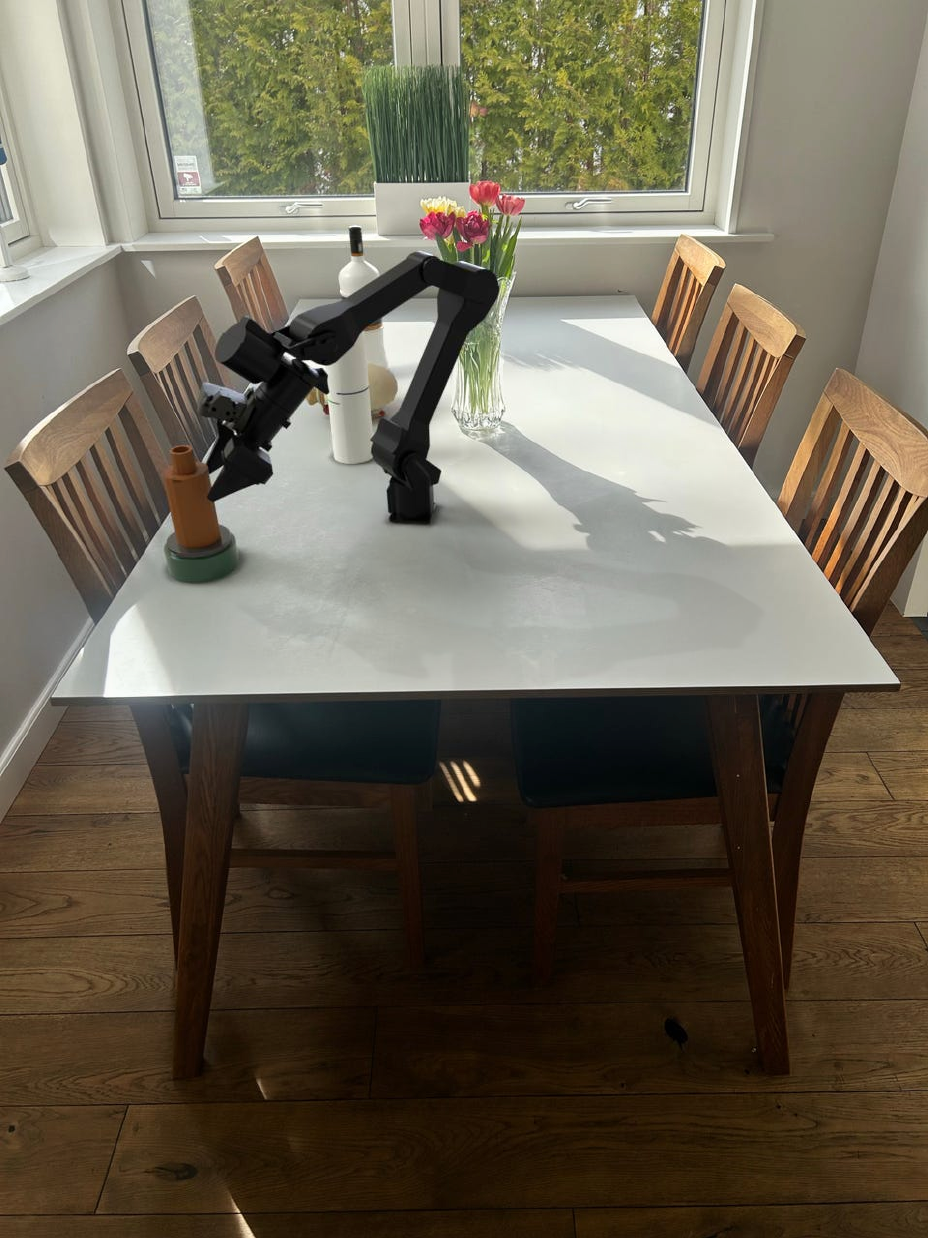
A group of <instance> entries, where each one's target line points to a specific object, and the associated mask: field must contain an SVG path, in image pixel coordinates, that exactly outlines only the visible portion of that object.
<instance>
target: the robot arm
mask: <svg viewBox="0 0 928 1238" xmlns="http://www.w3.org/2000/svg"><path fill="white" fill-rule="evenodd" d="M498 281H499V280H498V278H497V275H496V274H495V273H494V272H493V270H490V269H488V268H485V267H481V266H478V265H477V264H473V263H469V262H465V261H463V260H459V261H455V262H453V263H450V262H448V261H445V260H442V259H440V257H439V256H436V255H435V254H431V253H428V252H425V251H422V250H416V251H413V252H411V253H408V255H407V256H406V258H405V259H404V260H402V261H400V262H399V263H397V264H396V265H394V266H393V267H392V268H390V269H388V270H387V271H385V272H384V273H382V274H381V275H380V276H379V277H378V278H376V279H374V280H373V281H371V282H370V283H368V284H367V285H365V286H364V287H362V288H361V289H359V290H357V291H356V292H354V293H353V294H351V295H350V296H348V297H347V298H345V299H343V300H342V299H341V300H339V301H336V302H330V303H327V304H322V305H318V306H316V307H313V308H311V309H308V310H306V311H304V312H301V313H299V314H297V315H296V316H294V318H293V319H292V320H291V321H290V323H289V324H287V325H284V326H282V327H279V328H277V329H275V330H272V331H270V332H268V331H267V330H266V329H264V328H262V326H261V325H260V324H259V323H258V322H257V321H255V320H254V319H253V318H251V317H250V316H247V315H242V317H241V319H240V321H239V322H236V323H234V324H233V325H231V326H230V327H229V328H228V329H227V330H226V331H225V332H222V334H221V335H220V337H219V338H218V340H217V343H216V345H215V349H214V357H215V360H216V361H217V362H218V363H219V364H221V365H223V366H224V367H225V368H227V369H228V370H230V371H232V372H234V374H236V375H237V376H239V377H241V378H243V379H244V380H246V381H247V382H249V383H250V384H252V385H258V386H257V387H254V386H252V387H249V388H248V389H246V391H245V392H244V393H241V392H238V391H237V390H234V389H231V388H229V387H228V388H227V387H225V386H221V385H217V384H214V383H212V382H206V381H205V382H202V384H201V387H200V391H199V394H198V398H197V400H196V401H197V402H196V407H197V413H198V415H200V416H201V417H204V418H208V419H209V418H212V419H215V422H216V428H217V435H216V438H215V441H214V443H213V445H212V447H211V450H210V452H209V454H208V457H207V458H206V461H205V462H204V463H205V464H206V465H207V466H208V471H209V475H211V474H213V473H214V472H216V471H218V470H219V469H220V468H221V470H220V472H218V475H217V476H216V478H215V480H214V482H213V484H212V485H211V486H212V487H211V489H210V491H209V493H208V495H207V499H208V500H210V501H211V502H218V501H220V500H221V499H224V498H226V497H229V496H231V495H232V494H235V493H237V492H239V491H242V490H244V489H247V488H249V487H252V486H255V485H256V486H259V485H266V484H267V482H269V480H270V479H271V477H272V476H273V475H274V471H273V464H272V460H271V457H270V454H268V453H269V452H270V451H271V450H272V448H273V446H274V445H273V443H272V441H273V439H274V438H275V437H276V436H277V434H278V433H280V431H281V430H282V429H283V428H284V429H285V430H288V428H289V427H290V426H291V425H292V421H291V417H292V416H293V415H294V413H295V412H296V411H297V409H298V408H299V407H300V406H301V405H302V403H304V401H305V400H306V397H307V396H308V395H309V393H310V392H311V391H312V390H313V389H314V388H317V389H318V390H320V391H321V392H322V393H324V394H326V395H327V394H329V387H328V374H327V373H326V371H325V368H324V366H329V365H332V364H334V363H336V362H337V361H338V360H339V359H340V358H341V357H343V356H344V355H345V354H346V353H347V352H348V351H349V350H350V349H351V348H352V347H353V346H354V344H355V342H356V341H357V339H358V337H359V335H360V334H361V333H362V332H363V331H364V330H365V329H366V328H367V327H369V326H370V325H372V324H373V323H375V322H376V321H378V320H379V319H381V318H382V319H383V318H384V317H385V316H387V315H389V314H391V312H393V311H395V310H396V309H397V308H399V307H401V306H402V305H404V304H406V303H407V302H408V301H410V300H411V299H412V298H414V297H415V296H417V295H418V294H420V293H422V292H423V291H425V290H427V288H430V287H435V288H437V289H438V291H437V295H436V309H437V311H436V312H437V319H436V322H435V324H434V327H433V329H432V331H431V334H430V336H429V338H428V340H427V344H426V345H425V348H424V350H423V353H422V355H421V357H420V360H419V363H418V365H417V367H416V370H415V372H414V375H413V377H412V379H411V381H410V383H409V386H408V388H407V391H406V393H405V396H404V398H403V401H402V403H401V406H400V407H399V409H398V411H397V412H396V413H395V414H393V415H392V416H391V417H390V418H387V417H386V416H384V417H383V416H382V417H381V416H380V418H379V420H378V422H377V423H378V424H377V428H376V429H375V431H374V434H373V437H372V438H371V439H370V441H372V442H373V444H372V447H371V454H372V456H373V458H372V460H373V461H374V463H376V465H378V466H379V467H381V469H382V471H383V473H385V474H387V475H389V476H390V479H389V481H388V483H389V484H388V485H387V488H386V491H385V492H386V500H387V501H386V503H387V512H388V513H389V514H390V515H389V517H388V521H389V522H390V523H404V524H422V525H424V524H425V525H428V524H430V523H431V522H432V519H433V517H434V514H435V511H436V509H437V507H438V505H437V502H435V495H434V494H435V493H434V485H438V484H439V482H440V478H441V475H442V469H440V468H439V467H438V466H436V465H435V464H433V463H432V462H430V460H428V455H429V453H430V447H431V434H430V430H431V429H430V426H431V422H432V419H433V417H434V414H435V412H436V411H437V408H438V405H439V403H440V400H441V398H442V396H443V394H444V391H445V389H446V387H447V384H448V382H449V379H450V377H451V375H452V373H453V370H454V368H455V366H456V363H457V361H458V359H459V357H460V354H461V352H462V349H463V347H464V345H465V342H466V341H467V338H468V336H469V334H470V333H471V332H472V331H473V330H474V329H475V328H476V327H477V326H479V325H480V324H481V323H482V322H483V321H484V320H485V319H486V318H487V317H488V315H489V313H490V311H491V310H492V308H493V307H494V305H495V303H496V301H497V300H498V297H499V294H500V288H501V287H500V285H499V282H498ZM285 353H286V354H288V355H289V356H291V357H293V358H292V359H290V358H288V357H287V356H285ZM304 361H305V362H304ZM307 361H311V362H313V363H315V364H316V365H320V366H323V367H317V368H316V367H312V366H310V365H309V364H307V363H306V362H307Z"/></svg>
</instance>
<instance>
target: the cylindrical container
mask: <svg viewBox="0 0 928 1238" xmlns="http://www.w3.org/2000/svg"><path fill="white" fill-rule="evenodd" d="M323 368H324V370H325V371H326V373H327V374H328V387H329V394H327V395H328V404H329V414H330V415H329V422H330V433H331V442H332V450H333V458H334V460H335V461H336V462H338V463H341V464H347V465H356V464H357V465H358V464H363V463H367V462H368V461H371V460H373V456H372V454H371V447H372V444H373V442H372V441H370V439H371V438H372V437H373V435H374V434H373V421H372V419H373V418H371V415H372V411H371V407H370V394H369V382H368V370H367V357H366V345H365V333H364V331H363V332H362V333H361V334H360V335H359V337H358V339H357V341H356V342H355V344H354V346H353V347H352V348H351V349H350V350H349V351H348V352H347V353H346V354H345V355H344V356H343V357H341V358H340V359H339V360H338V361H337V362H336V363H334V364H332V365H329V366H324V365H323Z"/></svg>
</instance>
